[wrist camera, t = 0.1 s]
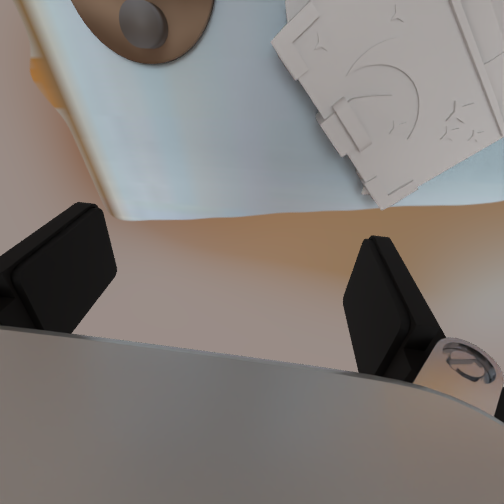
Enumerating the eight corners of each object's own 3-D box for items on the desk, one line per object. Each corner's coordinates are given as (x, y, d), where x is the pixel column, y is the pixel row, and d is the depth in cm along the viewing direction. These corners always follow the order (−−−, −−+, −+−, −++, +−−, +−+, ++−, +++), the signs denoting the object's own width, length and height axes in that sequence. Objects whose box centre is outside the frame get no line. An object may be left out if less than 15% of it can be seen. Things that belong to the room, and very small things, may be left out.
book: (417, -204, 23) (465, -300, 16) (520, 102, 33) (573, 115, 27) (237, 7, 31) (224, -4, 25) (365, 197, 42) (378, 222, 36)
